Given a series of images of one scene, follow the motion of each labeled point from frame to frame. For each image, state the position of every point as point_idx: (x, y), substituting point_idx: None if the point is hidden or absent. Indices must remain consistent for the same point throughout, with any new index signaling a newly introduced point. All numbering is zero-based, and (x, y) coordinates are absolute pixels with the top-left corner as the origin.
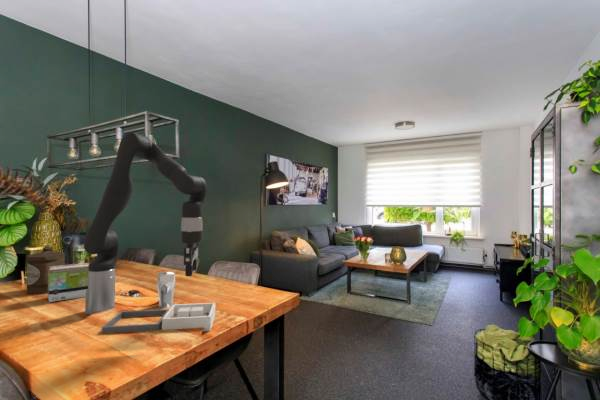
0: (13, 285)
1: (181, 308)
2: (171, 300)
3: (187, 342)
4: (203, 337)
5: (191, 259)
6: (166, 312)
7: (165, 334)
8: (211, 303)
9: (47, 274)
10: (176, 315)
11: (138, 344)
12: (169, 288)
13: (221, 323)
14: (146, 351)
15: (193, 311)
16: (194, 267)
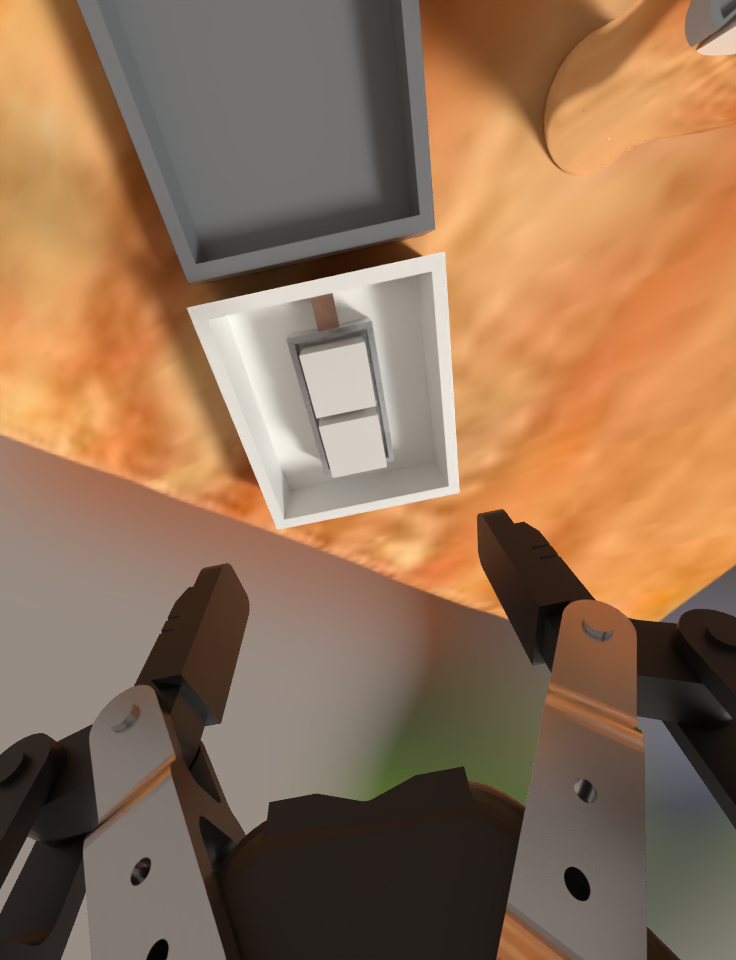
0: None
1: (353, 357)
2: (611, 146)
3: (173, 453)
4: (227, 491)
5: (63, 899)
6: (373, 235)
7: None
8: (448, 478)
9: None
10: (333, 329)
11: (71, 234)
12: (669, 92)
13: None
14: (36, 322)
15: (322, 439)
16: (491, 571)
